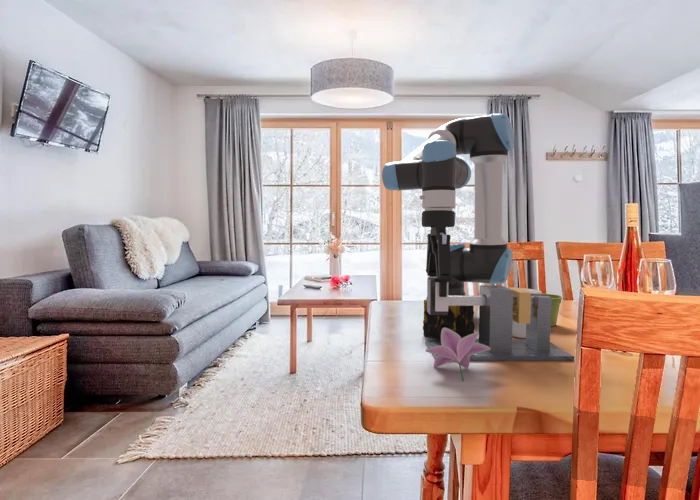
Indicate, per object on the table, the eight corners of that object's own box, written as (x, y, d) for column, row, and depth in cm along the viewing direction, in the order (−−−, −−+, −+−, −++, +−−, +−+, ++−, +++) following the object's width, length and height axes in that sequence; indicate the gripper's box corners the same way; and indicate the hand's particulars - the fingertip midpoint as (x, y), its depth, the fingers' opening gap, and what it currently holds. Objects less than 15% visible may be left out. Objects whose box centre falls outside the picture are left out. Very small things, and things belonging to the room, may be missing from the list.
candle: (443, 329, 120) (443, 295, 120) (475, 336, 113) (476, 299, 112) (421, 336, 113) (422, 299, 112) (455, 343, 106) (455, 304, 105)
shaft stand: (425, 343, 106) (425, 283, 105) (544, 343, 106) (546, 283, 105) (436, 360, 92) (437, 292, 91) (574, 360, 92) (576, 292, 91)
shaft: (427, 311, 101) (427, 278, 100) (538, 311, 100) (539, 278, 100) (430, 315, 97) (430, 280, 96) (546, 315, 96) (547, 280, 96)
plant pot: (523, 320, 132) (523, 293, 131) (553, 320, 131) (554, 293, 131) (535, 327, 122) (535, 298, 122) (568, 328, 122) (569, 298, 121)
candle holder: (544, 339, 109) (545, 293, 108) (504, 337, 111) (505, 292, 110) (535, 330, 119) (536, 288, 118) (499, 329, 121) (499, 287, 120)
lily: (500, 380, 83) (488, 332, 88) (487, 373, 74) (475, 320, 78) (442, 389, 88) (433, 344, 92) (423, 384, 79) (414, 334, 83)
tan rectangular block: (505, 316, 102) (506, 287, 102) (516, 316, 102) (516, 287, 102) (518, 323, 95) (519, 292, 94) (530, 323, 94) (530, 292, 94)
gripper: (414, 211, 108) (414, 299, 109) (430, 207, 86) (429, 316, 88) (444, 211, 108) (443, 299, 109) (467, 207, 86) (465, 316, 88)
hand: (437, 306), depth 98 cm, fingers open, 9 cm apart
